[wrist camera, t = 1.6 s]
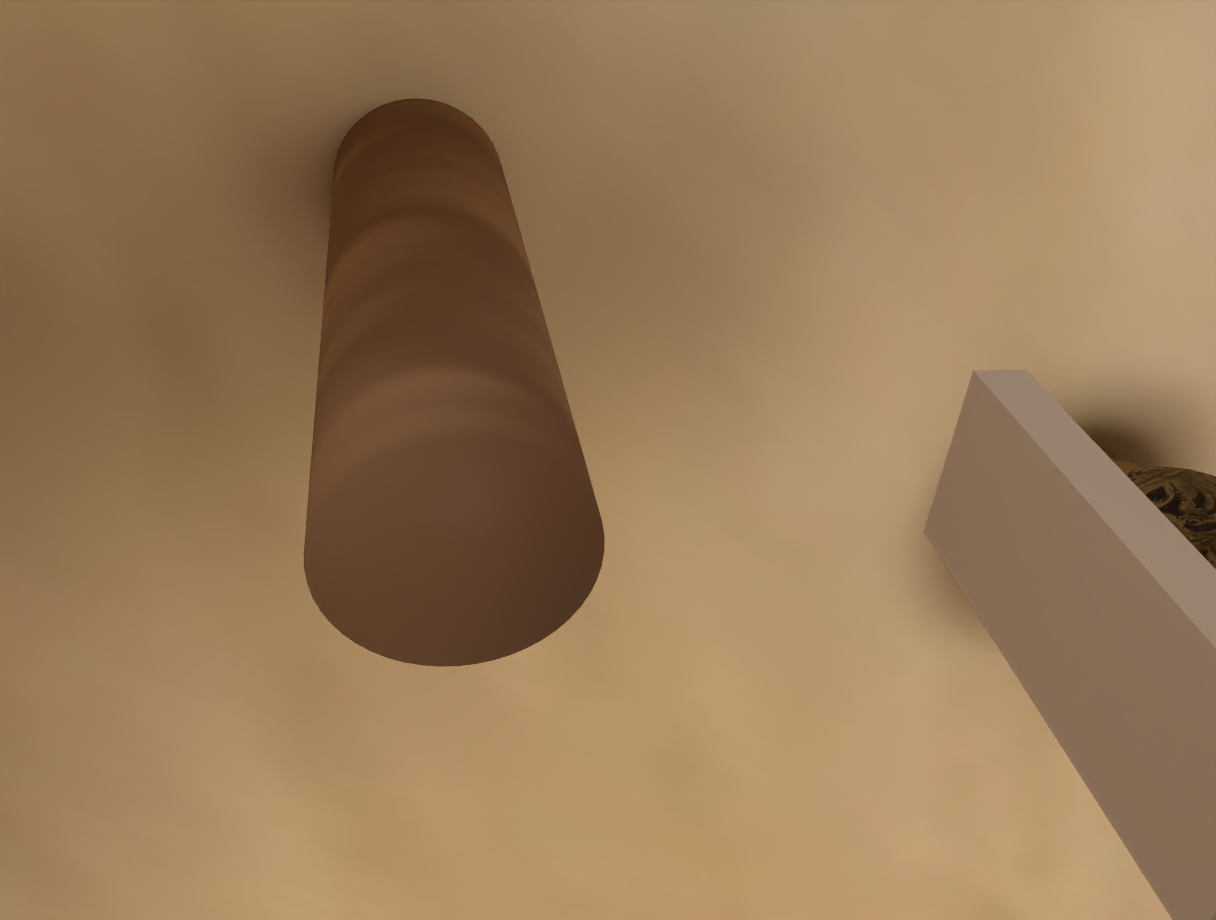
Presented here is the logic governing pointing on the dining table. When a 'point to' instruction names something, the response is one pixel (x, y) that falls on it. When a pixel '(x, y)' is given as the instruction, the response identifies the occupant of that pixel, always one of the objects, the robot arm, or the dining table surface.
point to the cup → (1180, 501)
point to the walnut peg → (440, 409)
